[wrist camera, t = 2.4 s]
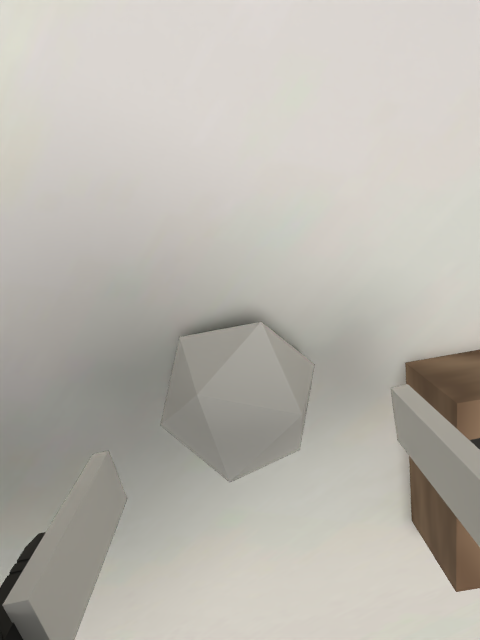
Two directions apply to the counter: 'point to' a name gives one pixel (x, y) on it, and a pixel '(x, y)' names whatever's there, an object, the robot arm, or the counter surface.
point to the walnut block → (426, 504)
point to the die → (238, 398)
